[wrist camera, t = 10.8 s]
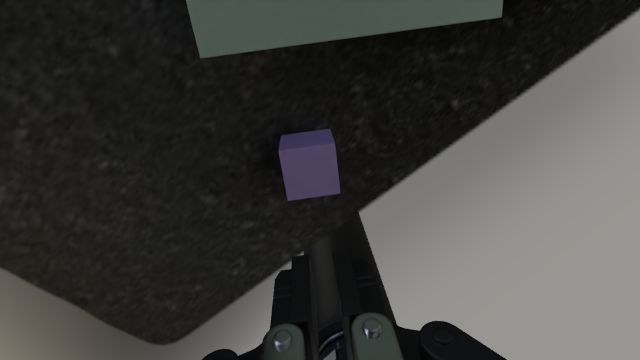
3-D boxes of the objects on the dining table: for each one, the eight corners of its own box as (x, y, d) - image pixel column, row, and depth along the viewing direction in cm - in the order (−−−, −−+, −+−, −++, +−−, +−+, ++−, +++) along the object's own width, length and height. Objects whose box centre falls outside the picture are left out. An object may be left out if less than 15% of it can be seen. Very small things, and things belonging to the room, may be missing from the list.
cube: (335, 173, 28) (340, 193, 25) (289, 180, 28) (287, 201, 25) (329, 128, 27) (334, 142, 23) (281, 135, 27) (278, 150, 23)
